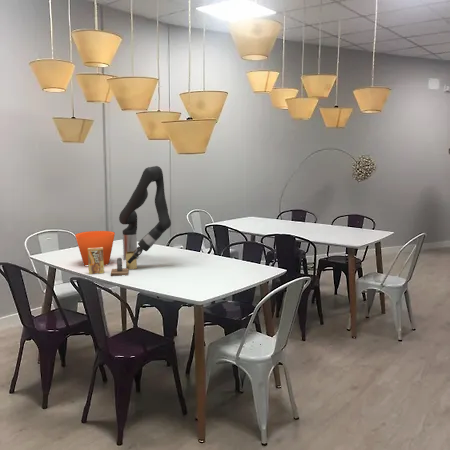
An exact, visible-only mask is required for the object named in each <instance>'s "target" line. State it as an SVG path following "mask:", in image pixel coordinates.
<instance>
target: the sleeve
mask: <svg viewBox="0 0 450 450" xmlns="http://www.w3.org/2000/svg"><path fill="white" fill-rule="evenodd" d="M133 252H134V251H131V252H126V260H125V267H126V268H129V270H137V269H138V265H137V264H138V262H137V260H138V257H137V258H136V259H135V260H133V261H132V262H131V263H130V264H129V263H128V260H129V259H130V258H131V257H132V256H133V255H134V253H133ZM135 257H136V256H135Z"/></svg>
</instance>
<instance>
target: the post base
mask: <svg viewBox="0 0 450 450" xmlns="http://www.w3.org/2000/svg"><path fill="white" fill-rule="evenodd" d="M129 270H130V269H129V268H125V267H124V268H123V260H122V258H121V257H118V258H116V268H112V269H111V271H110V276H111V277H119V276H120V277H122V275H125V276H129Z"/></svg>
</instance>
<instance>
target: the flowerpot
mask: <svg viewBox="0 0 450 450" xmlns="http://www.w3.org/2000/svg"><path fill="white" fill-rule="evenodd" d="M115 235H116V233H115V232H114V231H110V230H92V231H91V230H90V231H83V232H78V233H75V234H74V236H75V239H76V243H77V246H78V249H79V252H80V256H81V260H82V264H83V263H84V264H85V265H88V248H100V247H103V260H104V266H107V265H109V264H110V260H111V256H112V255H111V254H112V252H113V251H112V250H113V245H114V240H115ZM108 263H109V264H108ZM84 264H83V265H84ZM106 264H107V265H106ZM85 265H84V266H85Z"/></svg>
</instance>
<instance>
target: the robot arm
mask: <svg viewBox="0 0 450 450" xmlns="http://www.w3.org/2000/svg"><path fill="white" fill-rule="evenodd" d="M153 182H155V184H156V190H155V195H154V206H155V209H156V213H157V218H158V222H157V224H156V225H155V226H154V227H152V228H151V229H150V231H148V233H147V234H145V235H144V236H143V237H142V238H141V239H140V240H139V241H137V239H138V238H137V236H138V235H137V232H138V214H137V212H136V210H138V209H139V208H140V207H142V206H143V205H144V204H145V202H146V200H147V199H148V196H149V192H148V188H149V186H150V184H151V183H153ZM118 221H119V223H120V224H121V225H128V226H127V227H126V228H124V229H123V230H122V245H123V246H122V250H123V251H122V253H123V255H122V256H123V260H124V261H126V252H131V251H134V252H133V253H134V255H133V256H132V257H131V258H130V259H129V260H128V263H129V264H130V263H131V262H132V261H133V260H135V259H136V258H137V259H138V257H139V256H140V255H141V254H143V251H144V252H148V251H149V250H150V249H151V248H152V246H153V245H155V243H156V242H157V240H158V239H160V238H161V236H162V235H163V234H164V233H165V232H166V231H167V230H168V229H170V227H171V225H172V220H171V219H170V215H169V209H168V204H167V200H166V193H165V181H164V172H163V170H162V168H161V167H160V166H158V165H154V166H150V167H149V166H148V167H145V169H144V170H143V171H142V173H141V177H140V179H139V181H138V183H137V186H136V187H135V189H134V191H133V192H132V194H131V197H130V198H129V200H128V202H127V203H126V205H125V206H124V208H122V210H121V212H119V217H118ZM135 256H136V257H135Z"/></svg>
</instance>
